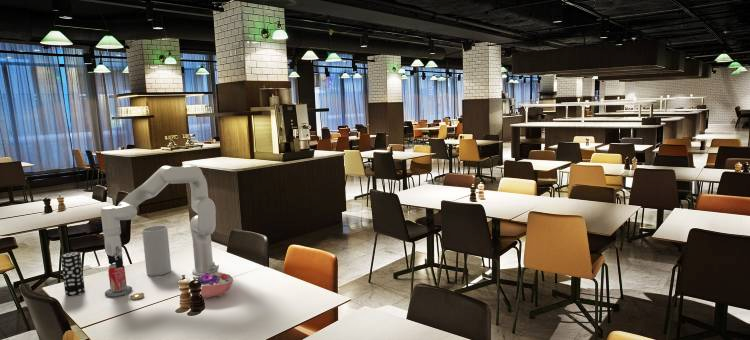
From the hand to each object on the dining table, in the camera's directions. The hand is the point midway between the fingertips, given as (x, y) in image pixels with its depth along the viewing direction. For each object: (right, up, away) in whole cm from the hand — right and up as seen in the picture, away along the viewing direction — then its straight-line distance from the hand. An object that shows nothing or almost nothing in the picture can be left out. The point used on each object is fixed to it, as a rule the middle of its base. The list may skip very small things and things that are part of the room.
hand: (116, 265), depth 236 cm
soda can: (0, -13, +2) cm, 13 cm away
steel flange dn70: (0, -14, +2) cm, 14 cm away
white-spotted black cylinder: (-22, -15, +3) cm, 27 cm away
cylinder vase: (+8, -10, +30) cm, 32 cm away
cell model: (+50, -14, -6) cm, 52 cm away
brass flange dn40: (+13, -15, -5) cm, 20 cm away
